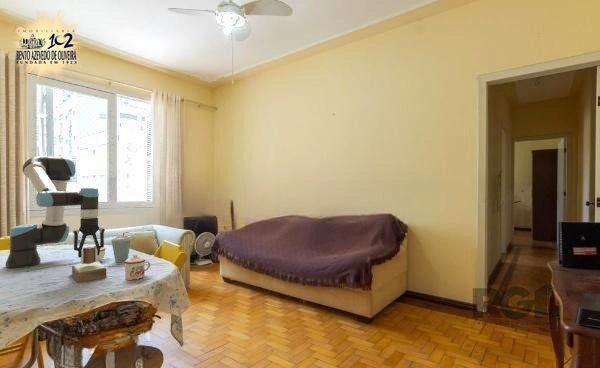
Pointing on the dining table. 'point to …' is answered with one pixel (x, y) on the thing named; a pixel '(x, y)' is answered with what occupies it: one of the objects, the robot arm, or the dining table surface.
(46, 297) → the dining table surface
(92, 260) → the wooden block
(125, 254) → the disposable coffee cup
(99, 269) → the walnut stand
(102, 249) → the lidded jar
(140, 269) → the teacup with lid
